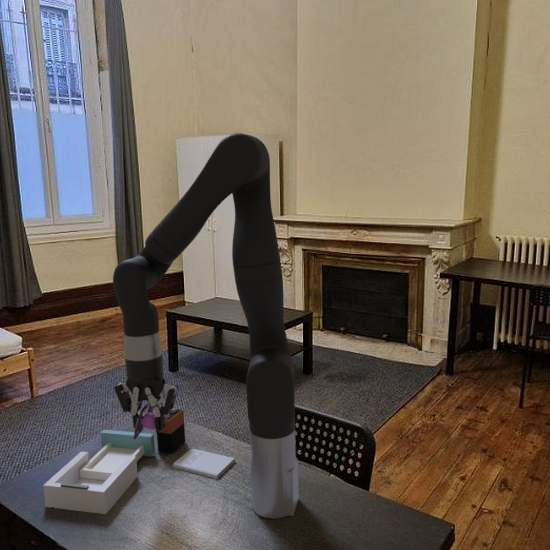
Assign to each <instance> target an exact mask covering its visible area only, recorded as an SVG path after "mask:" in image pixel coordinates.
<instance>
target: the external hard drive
mask: <svg viewBox="0 0 550 550" xmlns="http://www.w3.org/2000/svg"><path fill="white" fill-rule="evenodd" d="M235 463H236V458H234V457H230V456H225V455H222V454H217V453H213V452H209V451H205V450H201V449H196V448H190V449H189V450H188V451H187V452H185V453H184V454H183V455H182V456H181V457H179V458H178V459H177V460H175V461H174V463H173V464H172V468H174V469H178V470H181V471H185V472H189V473H192V474H193V473H194V474H197V475H200V476H204V477H209V478H212V479H214V480H215V479H216V480H218V479H219V478H220V477H221V476H222V475H223V474H224V473H225V472H227V470H228V469H229V468H230V467H231V466H232V465H233V464H235Z"/></svg>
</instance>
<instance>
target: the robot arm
mask: <svg viewBox="0 0 550 550" xmlns="http://www.w3.org/2000/svg"><path fill="white" fill-rule="evenodd" d="M270 160H271V159H270V154H269V150H268V149H267V147H266V145H265V144H264V142H263V141H261V139H260V138H258V137H256V136H254V135H252V134H251V135H250V134H247V133H242V132H236V133H231V134H229V135H226V136H224V138H222V139H220V141H219V143H218V144H217V145H216V147H215V148H214V149H213V152H212V153H211V155H210V156H209V158H208V160H207V161H206V163H205V165H204V166H203V168H202V170H201V171H200V173H199V174H198V176H196V178H195V180H194V181H193V183H192V184H191V186H190V187H189V188H188V189H187V190H186V192H185V193H184V194H183V196H182V197H181V198H180V199H179V200H178V201H177V203H176V204H175V205H174V207H173V206H172V208H171V210H169V211H168V213H167V214H166V215H165V216H164V217H163V218H162V220H161V221H159V223H158V224H157V225H156V226H155V228H154V229H153V230H151V232H150V233H149V235H148V236H147V237H146V239H145V241H144V247H143V249H141V251H140V252H139V253H138V254H137V255H136V256H135V257H134V256H133V257H132V258H129V259H125V260H123V261H121V262H119V263H118V264H117V266H116V267H115V268H114V271H113V275H112V284H113V285H112V287H113V289H114V293H115V297H116V300H117V303H118V307H119V308H120V311H121V313H122V323H123V324H122V325H123V337H124V338H123V353H124V364H125V375H126V377H127V379H126V381H120V382H119V383H118V384H116V385H115V386H114V388H113V389H114V391H115V395H116V396H117V399H118V401H119V404H120V406H121V409H122V411H123V412H124V413H127V412H129V413H130V414H131V415H132V424H133V425H132V426H133V428H134V429H135V427H136V423H137V422H138V421H137V419H139V415H138V411H139V410H140V409H142V408H143V401H147V402H150V405H151V407H152V408H153V412H154V415H156V416H155V426H156V429H155V434H157V433H160V432H161V431H162V430H163V429H164V428H165V415H167V414H168V413H169V412H170V411H171V410H172V409H173V407H175V406H174V405H175V402H176V398H177V394H178V391H179V385H178V384H173V385H172V384H168V383H167V382H166V380H165V378H164V362H163V361H164V360H163V359H164V358H163V348H162V338H161V337H162V336H161V334H160V322H159V311H158V307H157V306H156V305H155V304H154V303H153V302H150V299H149V294H148V290H149V289H152V288H154V286H155V285H157V284H158V283H159V282H160V281H161V280H162V278H163V277H165V275H166V273H167V272H168V270H169V269H170V267H171V266H172V265H173V262H174V261H175V260H176V259H178V257H180V255H181V254H182V253H184V251H185V250H186V249H187V248H188V247H189V246H190V244H191V243H192V242H194V240H195V239H196V238H197V236H199V235H198V234H200V232H201V231H202V229H203V228H204V226H205V225H206V224H207V223H206V222H207V221H208V220H209V218H210V217H211V215H212V214H213V213H214V211H215V210H216V209H217V208H218V207H219V206H220V205H221V204H222V203H223V202H224V201H225V199H227V198H228V197H229V196H232V199H233V205H234V226H233V228H234V229H233V235H232V248H231V249H232V250H231V251H232V253H231V255H232V266H233V273H234V274H233V275H234V282H235V287H236V292H237V296H238V298H239V301H240V305H241V309H242V311H243V313H244V315H245V319H246V323H247V328H248V333H249V335H248V336H249V350H250V351H249V356H250V357H249V358H250V359H249V365H248V369H247V374H246V379H245V380H246V383H245V384H246V385H245V386H246V407H247V419H248V423H249V424H248V425H249V444H250V446H249V447H250V448H249V449H250V454H249V455H250V478H251V480H250V481H251V482H250V483H251V501H252V502H251V504H252V509H253V512H255V513H256V514H257V515H258V516H260V517H263V518H266V519H275V520H276V519H281V518H285V517H294V516H295V512H296V510H297V509H296V508H297V505H298V502H299V461H298V457H296V413H295V412H296V411H295V409H296V408H295V407H296V406H295V366H294V362H293V357H292V354H291V350H290V347H289V342H288V337H287V334H286V333H287V332H286V327H285V320H284V308H285V305H284V300H285V299H284V279H283V271H282V269H283V268H282V264H281V263H282V262H281V256H280V255H281V254H280V248H279V244H278V236H277V231H276V225H275V220H274V216H273V210H272V209H273V208H272V200H271V198H272V197H271V163H270V162H271V161H270ZM129 391H130V392H129ZM163 391H165V392H164V394H165V396H166V398H165V402H164V398H163V394H162V392H163ZM130 393H131V395H132V397H131V395H130ZM143 416H144V415H143V413H142V417H143ZM142 417H141V419H142ZM143 426H144V425H143V424H141V421H140V424H139V428H138V432H139V431H141V430H142V429H143ZM143 430H144V429H143ZM143 430H142V431H143Z"/></svg>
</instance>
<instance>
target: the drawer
mask: <svg viewBox="0 0 550 550" xmlns="http://www.w3.org/2000/svg"><path fill="white" fill-rule="evenodd" d="M134 432H135V431H124V430H123V431H122V430H111V429H103V430H101V432H100V444H101V449H100V450H99V451H98V452H97V453H96V454H95V455H94V456H93V457H91V458H90V459H89V461H88V462H87V463H86V464H85V465H84V466H83V467H82V468H81V469H80V478H87V479H96V480H105V481H106V480H107V479H108V478H109V477H110V476H111V474H112V473H113V472H114V471H115V470H116V469H117V468H118V467H119V466H120V465H121V464H122V463H123V462H124V461H125V460H126V458H127V457H128V456H135V457H136V463H138V461H139V460H140V459H141V458H142V456H143V457H153V456H154V455H155V454H156V448H155V437H154V436H155V434H154V433H147V432H141V433H140V434H139V435H138V437H137V438H136V439H133V438H134V434H135V433H134Z"/></svg>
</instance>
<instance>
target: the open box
mask: <svg viewBox="0 0 550 550" xmlns="http://www.w3.org/2000/svg"><path fill="white" fill-rule="evenodd" d="M89 457H90V456H89V452H88V451H79V452H78V454H77V455H76V456H74V458H72V459H71V460H70V461H69V462H68V463H66V464H65V465H64V466H63V467H62V468H61V469H59V471H57V472H56V473H55V474H54V475H53V476H52V477H51V478H50V479H48V480H47V481H46V482H45V483H44V484H43V496H44V504H45V505H44V506H45V508H51V507H54V508H53V509H59V508H60V510H67V511H68V510H70V511H79V512H84V513H93V514H101V515H107V514H108V513H109V511H110V510H111V509H112V507H114V505H115V504H116V503H117V502H118V501H119V500H120V498H121V497H122V496H123V495H124V493H125V492H126V491H127V490H128V489H129V488H130V486H131V485H132V484H133V483H134V481H135V480H136V479H137V478H138V462H136V457H135V456H128V457H127V458H126V460H125V461H124V462H123V463H122V464H121V465H120V466H119V467H118V468H117V469H116V470H115V471H114V472H113V473H112V474H111V476H110V477H109V478H108V479H107V480H106V481H105V480H96V479H87V478H80V469H81V468H82V467H83V466H84V465H85V464H86V463H87V462H88V461H90V459H89Z"/></svg>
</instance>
